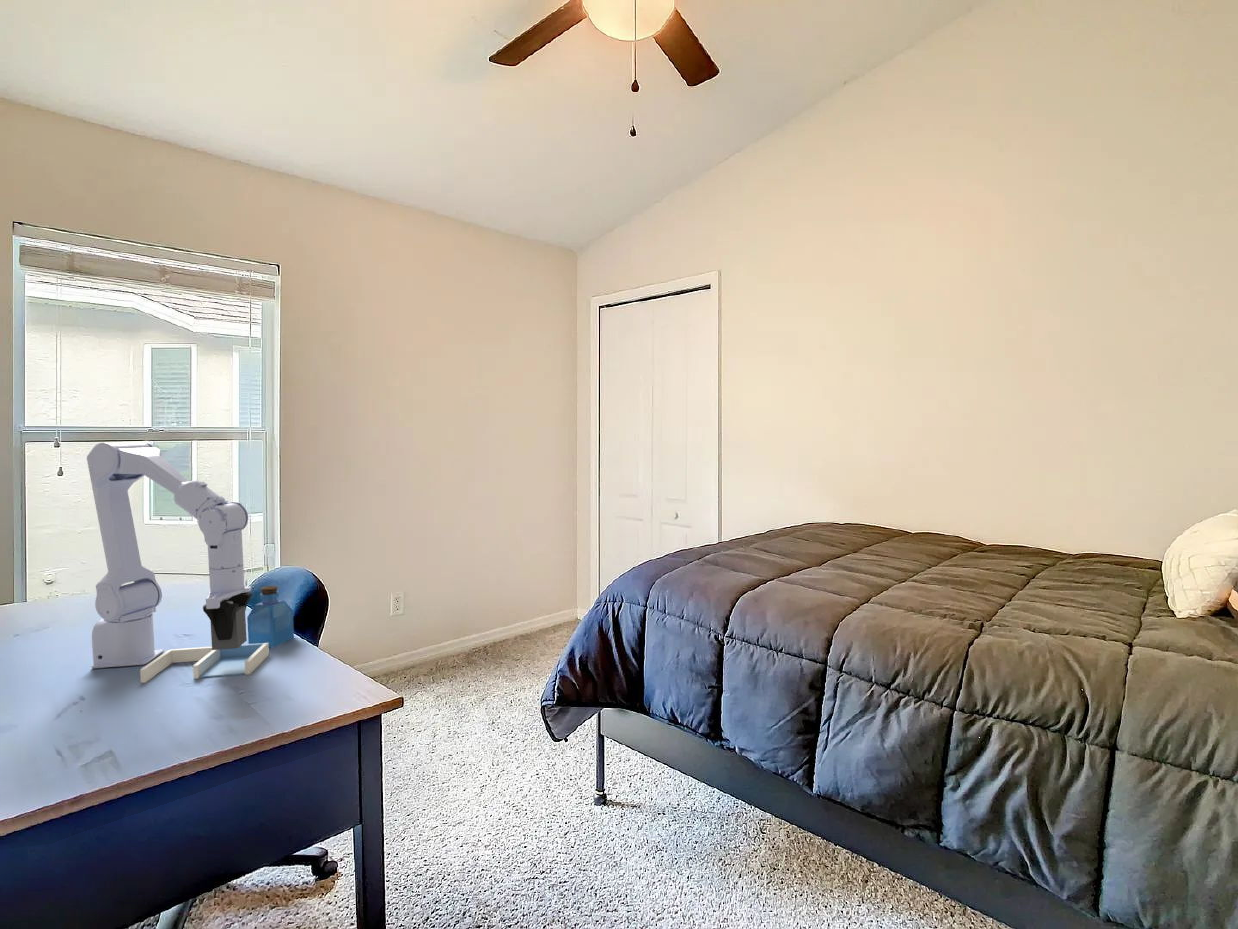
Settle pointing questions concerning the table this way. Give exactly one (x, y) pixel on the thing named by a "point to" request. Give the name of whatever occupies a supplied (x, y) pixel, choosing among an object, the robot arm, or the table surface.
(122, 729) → the table surface
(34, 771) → the table surface
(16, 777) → the table surface
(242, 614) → the plug
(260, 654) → the two-rail blue tray
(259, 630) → the perfume bottle
